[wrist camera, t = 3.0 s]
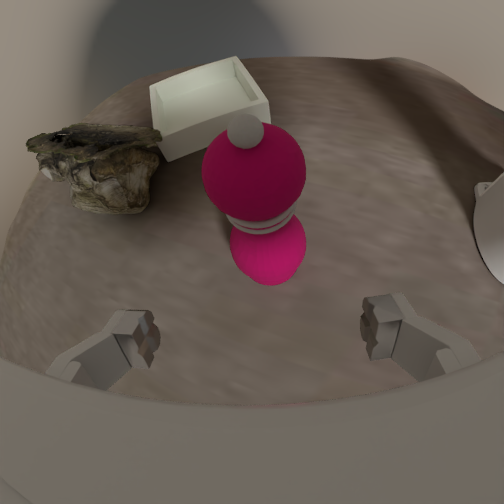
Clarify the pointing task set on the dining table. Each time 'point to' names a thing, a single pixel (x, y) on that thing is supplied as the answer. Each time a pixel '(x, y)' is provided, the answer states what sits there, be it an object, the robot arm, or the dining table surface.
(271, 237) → the pepper mill
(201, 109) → the tray
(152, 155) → the hollow geode rock
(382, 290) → the dining table surface
